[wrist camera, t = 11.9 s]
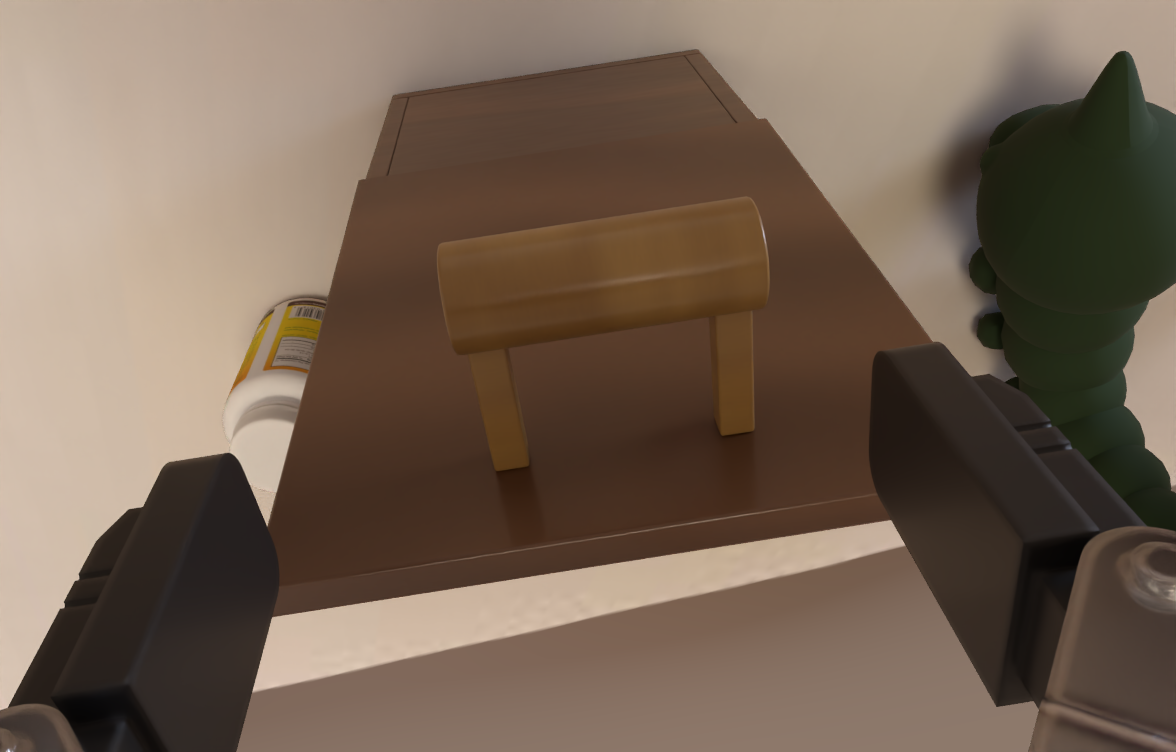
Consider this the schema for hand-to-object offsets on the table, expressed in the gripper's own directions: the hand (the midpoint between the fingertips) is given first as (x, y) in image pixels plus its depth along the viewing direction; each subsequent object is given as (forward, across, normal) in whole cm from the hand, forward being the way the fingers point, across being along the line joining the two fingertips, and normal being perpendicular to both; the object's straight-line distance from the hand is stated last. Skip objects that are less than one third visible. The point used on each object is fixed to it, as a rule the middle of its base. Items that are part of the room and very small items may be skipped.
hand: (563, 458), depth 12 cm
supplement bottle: (+34, +13, +15) cm, 39 cm away
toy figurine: (+34, -25, +16) cm, 45 cm away
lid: (+12, -1, +4) cm, 13 cm away
